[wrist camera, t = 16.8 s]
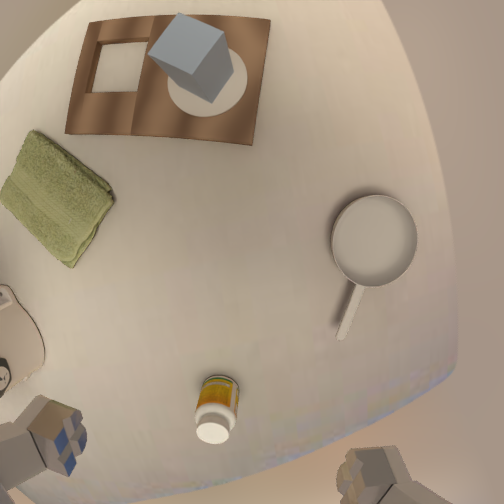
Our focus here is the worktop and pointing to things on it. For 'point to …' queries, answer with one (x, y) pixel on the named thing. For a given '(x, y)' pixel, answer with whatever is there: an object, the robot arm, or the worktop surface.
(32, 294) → the worktop surface
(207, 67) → the slate block
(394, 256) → the saucepan
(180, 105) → the felt coaster
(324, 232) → the worktop surface
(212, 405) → the supplement bottle
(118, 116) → the walnut board
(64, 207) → the washcloth
